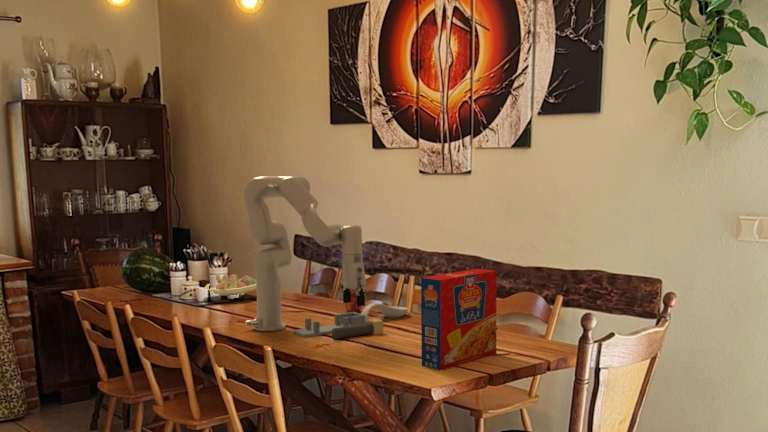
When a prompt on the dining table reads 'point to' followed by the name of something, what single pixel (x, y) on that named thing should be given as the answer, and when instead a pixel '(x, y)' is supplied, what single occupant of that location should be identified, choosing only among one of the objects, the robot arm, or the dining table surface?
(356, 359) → the dining table surface
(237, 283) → the dish with food
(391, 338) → the dining table surface
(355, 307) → the smoothie
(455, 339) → the pasta box
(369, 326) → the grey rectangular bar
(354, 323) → the clip rail
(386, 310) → the spoon rest
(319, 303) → the dining table surface
